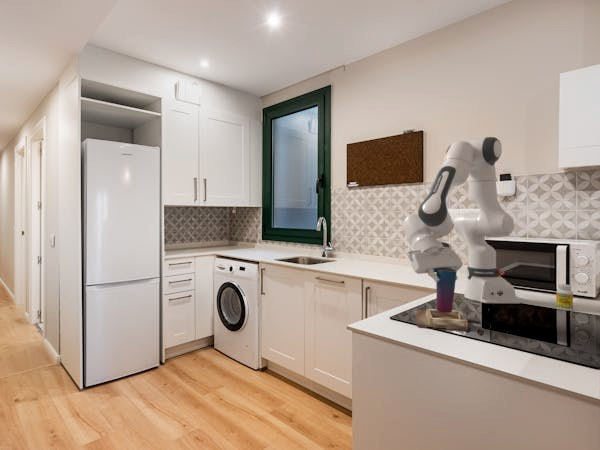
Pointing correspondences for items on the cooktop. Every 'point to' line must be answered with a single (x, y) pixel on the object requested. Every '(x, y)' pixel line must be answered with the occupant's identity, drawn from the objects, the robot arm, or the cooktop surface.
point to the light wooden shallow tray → (441, 319)
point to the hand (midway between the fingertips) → (447, 280)
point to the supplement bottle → (564, 297)
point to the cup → (445, 289)
